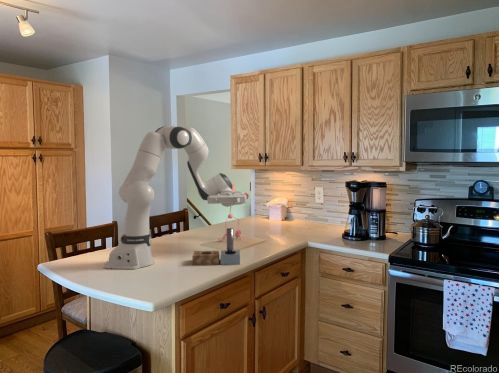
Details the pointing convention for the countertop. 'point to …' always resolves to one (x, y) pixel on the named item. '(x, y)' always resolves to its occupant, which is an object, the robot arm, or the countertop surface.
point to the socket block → (230, 257)
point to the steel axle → (230, 241)
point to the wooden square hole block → (205, 258)
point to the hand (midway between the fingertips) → (226, 201)
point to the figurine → (235, 218)
